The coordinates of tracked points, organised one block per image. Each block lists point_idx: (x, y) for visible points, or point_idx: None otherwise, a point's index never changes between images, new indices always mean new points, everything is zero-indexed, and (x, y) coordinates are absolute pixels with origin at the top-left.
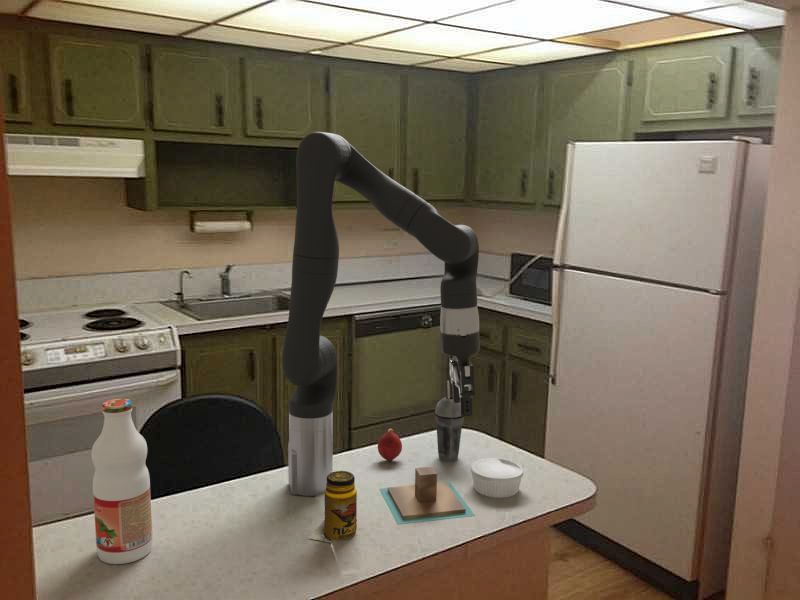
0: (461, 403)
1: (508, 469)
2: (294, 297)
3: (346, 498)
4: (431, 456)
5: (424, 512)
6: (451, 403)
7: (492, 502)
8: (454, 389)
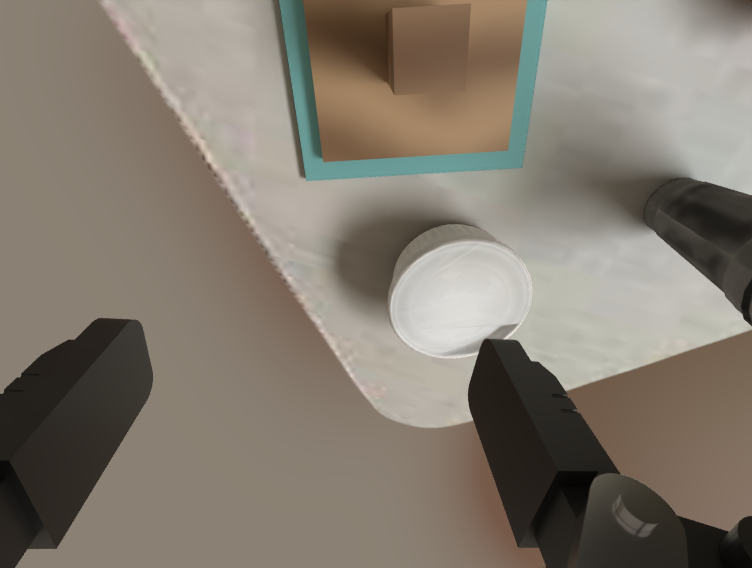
0: (19, 406)
1: (451, 328)
2: None
3: None
4: (724, 161)
5: (313, 14)
6: None
7: (385, 245)
8: (529, 436)
